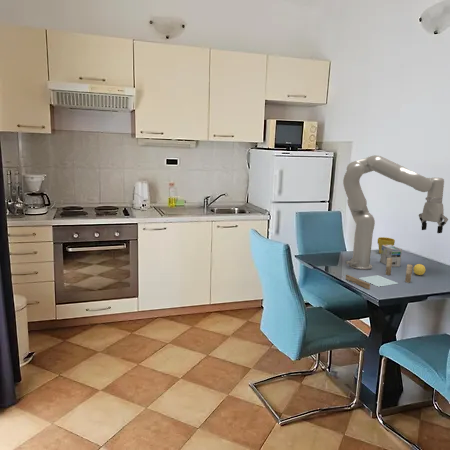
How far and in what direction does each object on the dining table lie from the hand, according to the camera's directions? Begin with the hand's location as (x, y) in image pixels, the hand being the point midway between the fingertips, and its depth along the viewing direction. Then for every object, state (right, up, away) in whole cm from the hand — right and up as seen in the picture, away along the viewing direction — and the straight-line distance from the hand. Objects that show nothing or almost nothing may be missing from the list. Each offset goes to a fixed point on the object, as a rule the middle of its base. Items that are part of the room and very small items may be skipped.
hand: (431, 231), depth 229 cm
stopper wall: (-48, -26, -21) cm, 58 cm away
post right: (-20, -26, -15) cm, 36 cm away
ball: (-8, -21, -3) cm, 22 cm away
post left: (-25, -23, -3) cm, 35 cm away
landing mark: (-35, -25, -15) cm, 46 cm away
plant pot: (-10, -15, +42) cm, 46 cm away
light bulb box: (-16, -20, +17) cm, 31 cm away
